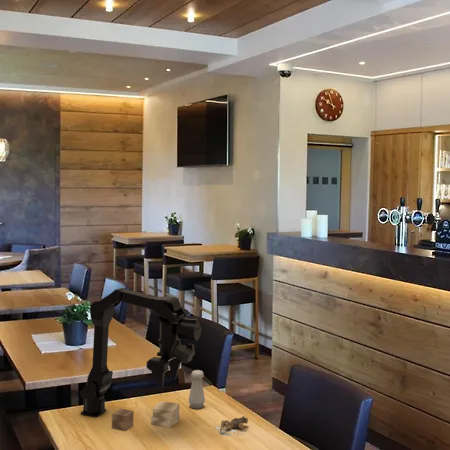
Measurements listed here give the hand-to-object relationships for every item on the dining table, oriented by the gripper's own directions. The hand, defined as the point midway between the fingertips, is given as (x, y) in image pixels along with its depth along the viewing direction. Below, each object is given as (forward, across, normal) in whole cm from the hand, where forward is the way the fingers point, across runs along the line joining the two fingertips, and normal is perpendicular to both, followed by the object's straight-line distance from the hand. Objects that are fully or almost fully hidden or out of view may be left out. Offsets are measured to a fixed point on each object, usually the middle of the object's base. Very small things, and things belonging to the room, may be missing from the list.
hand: (167, 383), depth 199 cm
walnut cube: (+15, -6, +13) cm, 21 cm away
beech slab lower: (+15, +3, +2) cm, 15 cm away
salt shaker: (+15, +20, -2) cm, 25 cm away
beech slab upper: (+12, +3, +2) cm, 13 cm away
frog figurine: (+15, +8, -20) cm, 26 cm away
